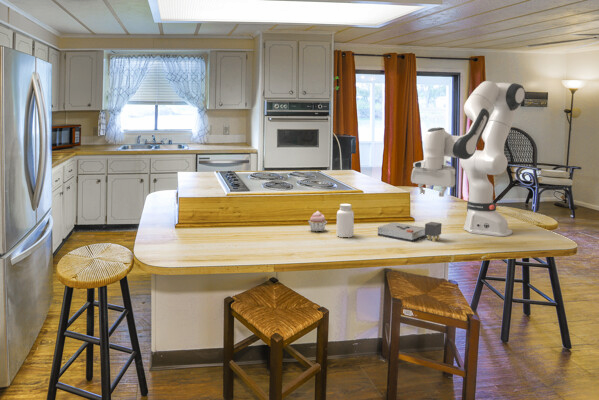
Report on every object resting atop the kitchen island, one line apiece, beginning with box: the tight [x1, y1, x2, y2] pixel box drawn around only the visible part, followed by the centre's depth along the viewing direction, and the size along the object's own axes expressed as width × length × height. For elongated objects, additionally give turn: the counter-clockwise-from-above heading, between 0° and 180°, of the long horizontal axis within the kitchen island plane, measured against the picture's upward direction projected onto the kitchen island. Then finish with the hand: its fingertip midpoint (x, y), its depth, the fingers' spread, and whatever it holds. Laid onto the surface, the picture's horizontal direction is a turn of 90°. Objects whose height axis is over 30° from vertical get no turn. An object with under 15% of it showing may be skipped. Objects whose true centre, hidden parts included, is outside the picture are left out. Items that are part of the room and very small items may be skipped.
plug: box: [424, 221, 443, 242], centre depth 221 cm, size 5×6×8 cm
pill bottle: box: [336, 203, 355, 238], centre depth 227 cm, size 8×8×15 cm
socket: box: [377, 222, 428, 243], centre depth 228 cm, size 18×14×5 cm
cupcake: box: [307, 210, 328, 232], centre depth 237 cm, size 9×9×10 cm
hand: (431, 195), depth 218 cm, fingers open, 8 cm apart
